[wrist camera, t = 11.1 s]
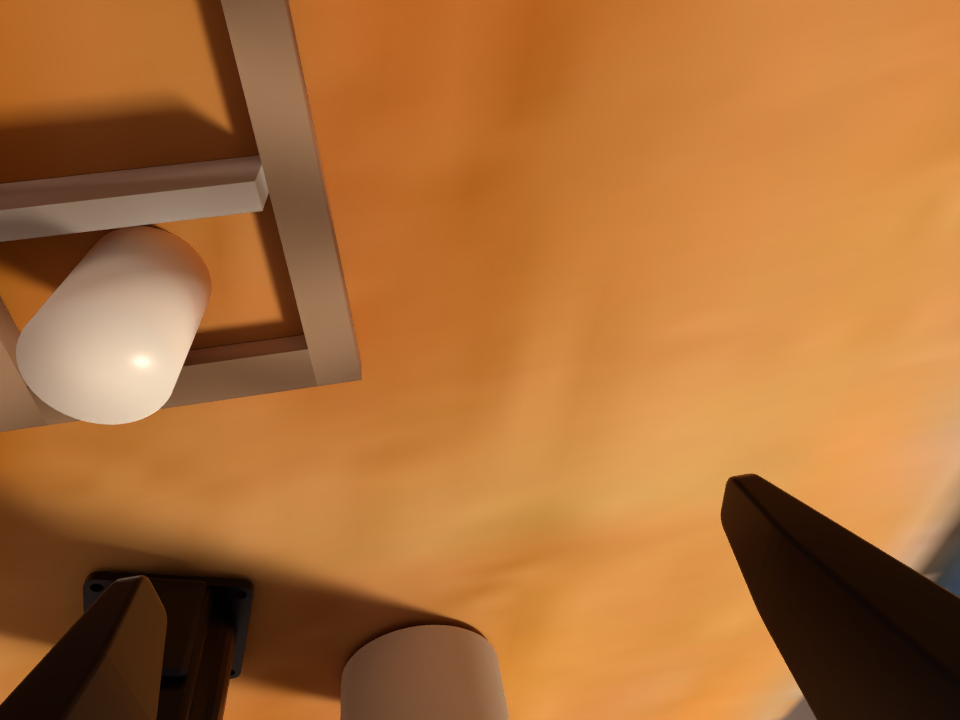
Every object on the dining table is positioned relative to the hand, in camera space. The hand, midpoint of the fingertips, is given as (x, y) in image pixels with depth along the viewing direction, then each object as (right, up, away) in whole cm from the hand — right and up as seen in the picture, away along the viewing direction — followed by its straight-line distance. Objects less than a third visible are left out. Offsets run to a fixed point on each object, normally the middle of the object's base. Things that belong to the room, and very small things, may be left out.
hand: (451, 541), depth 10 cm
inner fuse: (-10, +5, +10) cm, 15 cm away
